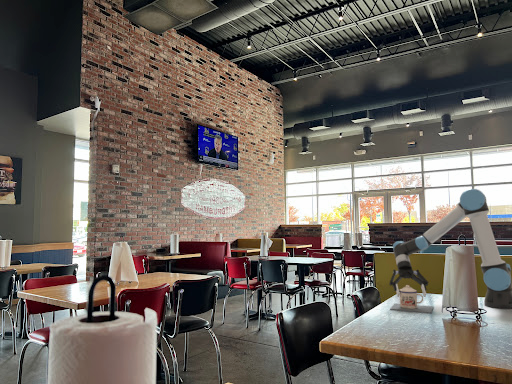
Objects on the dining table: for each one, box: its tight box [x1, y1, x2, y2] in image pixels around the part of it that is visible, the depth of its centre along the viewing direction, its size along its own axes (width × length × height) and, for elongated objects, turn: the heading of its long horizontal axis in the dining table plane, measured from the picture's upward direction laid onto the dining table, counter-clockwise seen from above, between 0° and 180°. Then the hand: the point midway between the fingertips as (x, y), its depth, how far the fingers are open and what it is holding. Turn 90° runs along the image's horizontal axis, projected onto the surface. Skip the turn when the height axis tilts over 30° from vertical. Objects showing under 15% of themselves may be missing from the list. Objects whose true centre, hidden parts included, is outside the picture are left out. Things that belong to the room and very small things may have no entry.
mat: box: [389, 302, 434, 314], centre depth 206 cm, size 20×16×1 cm
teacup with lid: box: [399, 284, 424, 309], centre depth 207 cm, size 12×9×12 cm
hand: (411, 295), depth 205 cm, fingers open, 13 cm apart
